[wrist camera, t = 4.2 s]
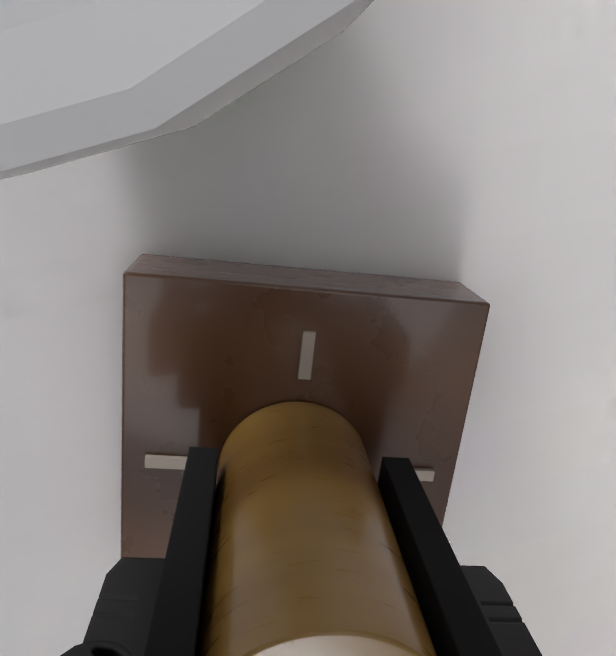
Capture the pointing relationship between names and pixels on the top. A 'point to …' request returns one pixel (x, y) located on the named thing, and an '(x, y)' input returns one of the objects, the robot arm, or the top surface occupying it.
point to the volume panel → (286, 369)
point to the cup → (139, 67)
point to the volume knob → (304, 546)
